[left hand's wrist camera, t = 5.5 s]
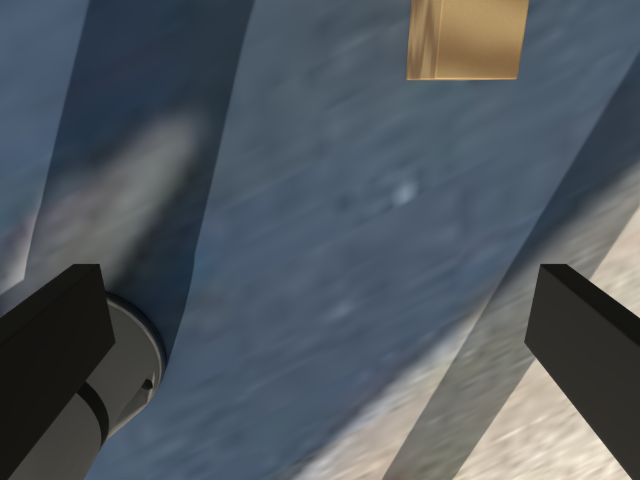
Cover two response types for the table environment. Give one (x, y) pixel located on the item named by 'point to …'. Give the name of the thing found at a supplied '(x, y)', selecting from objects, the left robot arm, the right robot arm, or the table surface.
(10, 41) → the table surface
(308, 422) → the table surface
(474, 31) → the ash beam
